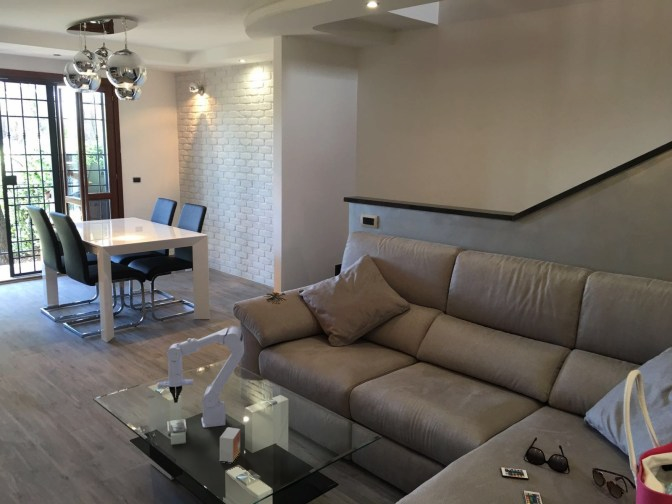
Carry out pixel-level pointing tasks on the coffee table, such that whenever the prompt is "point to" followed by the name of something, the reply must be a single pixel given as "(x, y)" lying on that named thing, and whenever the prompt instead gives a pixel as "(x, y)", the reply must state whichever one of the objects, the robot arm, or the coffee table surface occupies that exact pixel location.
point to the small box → (229, 444)
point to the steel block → (177, 427)
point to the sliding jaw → (176, 422)
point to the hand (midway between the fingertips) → (175, 401)
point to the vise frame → (178, 435)
